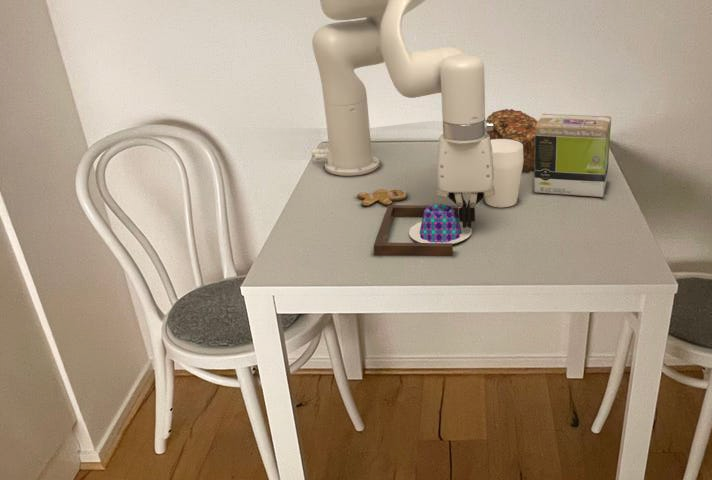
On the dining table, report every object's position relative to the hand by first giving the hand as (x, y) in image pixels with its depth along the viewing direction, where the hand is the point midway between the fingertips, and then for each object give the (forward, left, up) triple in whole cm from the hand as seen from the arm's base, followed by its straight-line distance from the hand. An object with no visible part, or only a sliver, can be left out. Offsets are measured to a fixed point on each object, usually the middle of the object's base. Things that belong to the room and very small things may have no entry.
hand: (467, 224), depth 144 cm
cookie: (-19, +17, -2) cm, 26 cm away
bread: (+10, +42, -2) cm, 44 cm away
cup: (+6, +16, -2) cm, 18 cm away
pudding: (-5, 0, -2) cm, 6 cm away
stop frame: (-9, 0, -2) cm, 10 cm away
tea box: (+21, +24, -2) cm, 32 cm away
